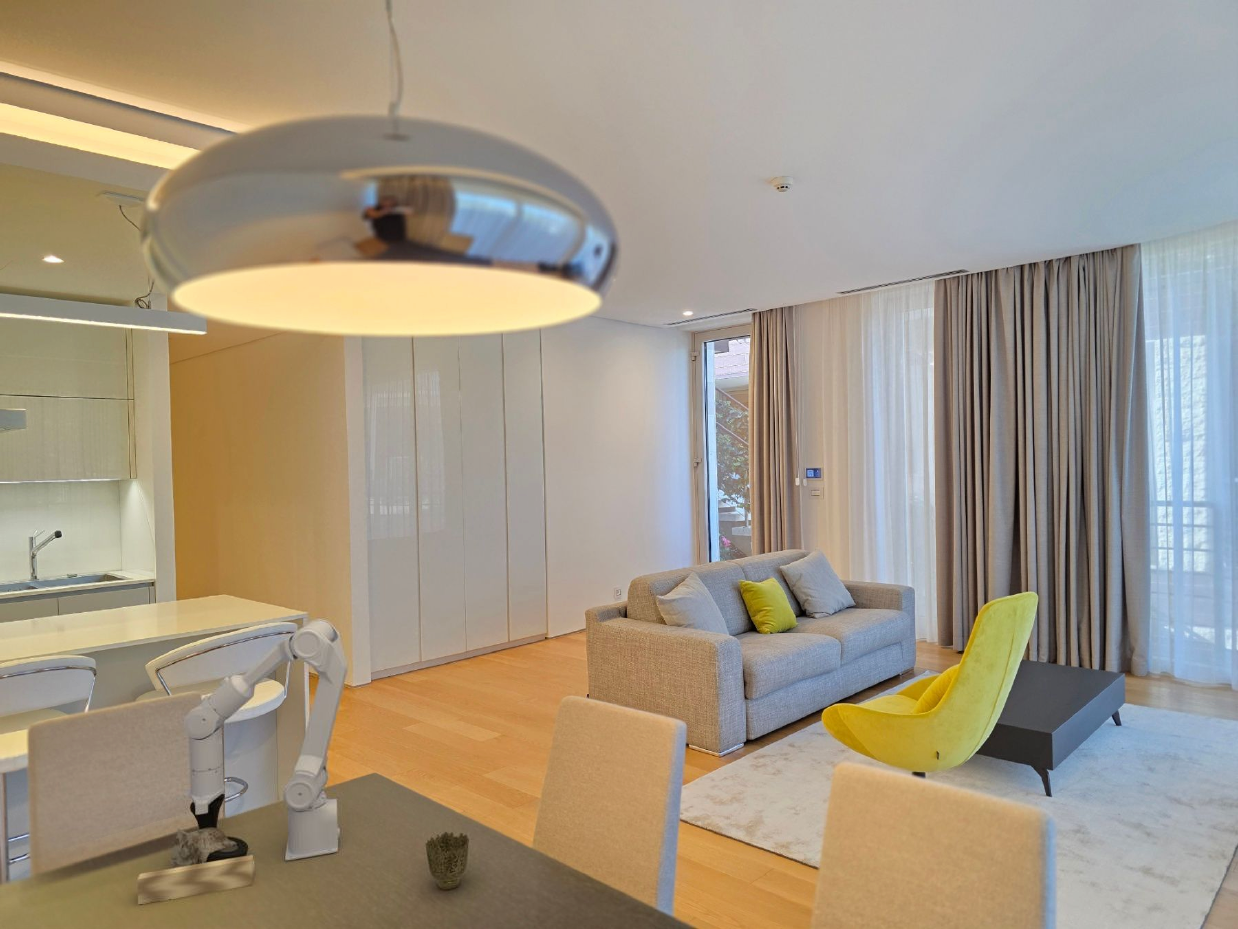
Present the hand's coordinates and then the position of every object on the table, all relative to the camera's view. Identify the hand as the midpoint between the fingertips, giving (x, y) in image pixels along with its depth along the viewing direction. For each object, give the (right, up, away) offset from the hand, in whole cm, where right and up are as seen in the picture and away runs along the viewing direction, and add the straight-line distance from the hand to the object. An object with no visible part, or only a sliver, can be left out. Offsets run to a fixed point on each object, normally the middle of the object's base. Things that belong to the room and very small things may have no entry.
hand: (208, 837), depth 158 cm
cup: (+49, -3, -14) cm, 51 cm away
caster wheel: (+3, -4, -3) cm, 6 cm away
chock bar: (+4, -4, -12) cm, 13 cm away
